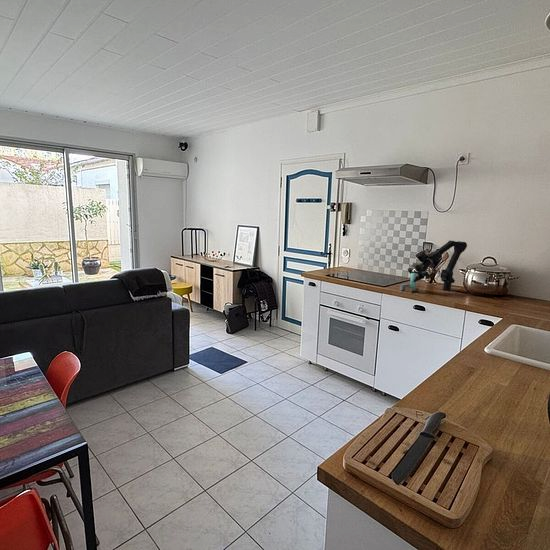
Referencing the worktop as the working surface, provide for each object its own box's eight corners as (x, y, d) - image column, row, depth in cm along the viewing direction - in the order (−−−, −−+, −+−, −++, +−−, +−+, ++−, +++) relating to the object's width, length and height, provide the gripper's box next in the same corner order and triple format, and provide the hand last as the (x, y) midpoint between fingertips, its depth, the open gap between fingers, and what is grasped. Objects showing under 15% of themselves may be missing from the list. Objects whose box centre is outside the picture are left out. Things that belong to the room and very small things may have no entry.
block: (418, 291, 267) (419, 287, 267) (411, 292, 263) (411, 288, 262) (412, 290, 272) (412, 286, 272) (404, 291, 268) (404, 287, 267)
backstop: (410, 289, 274) (410, 283, 273) (401, 290, 269) (402, 284, 268) (408, 288, 276) (408, 283, 275) (399, 290, 271) (400, 284, 270)
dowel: (410, 288, 269) (411, 272, 267) (415, 289, 267) (416, 273, 265) (409, 289, 266) (410, 273, 264) (414, 290, 264) (416, 274, 262)
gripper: (410, 257, 273) (397, 272, 271) (428, 260, 255) (415, 276, 253) (417, 267, 277) (404, 281, 275) (435, 270, 260) (422, 286, 258)
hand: (411, 281), depth 265 cm, fingers closed on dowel, 4 cm apart
